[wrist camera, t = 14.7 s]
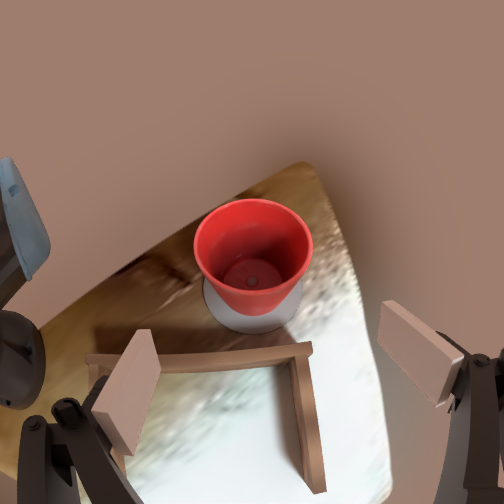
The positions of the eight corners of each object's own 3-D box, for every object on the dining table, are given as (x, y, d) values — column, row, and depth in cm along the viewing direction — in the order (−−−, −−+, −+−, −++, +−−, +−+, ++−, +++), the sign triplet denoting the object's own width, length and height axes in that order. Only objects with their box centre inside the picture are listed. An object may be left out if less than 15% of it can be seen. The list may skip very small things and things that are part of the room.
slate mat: (187, 309, 32) (185, 308, 31) (230, 234, 38) (230, 232, 37) (280, 350, 29) (281, 349, 29) (313, 264, 35) (314, 262, 35)
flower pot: (235, 236, 37) (230, 184, 29) (311, 269, 34) (328, 221, 26) (191, 301, 32) (170, 260, 24) (274, 344, 29) (283, 316, 21)
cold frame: (320, 478, 21) (332, 489, 17) (114, 480, 20) (93, 488, 15) (302, 351, 29) (311, 340, 25) (106, 362, 28) (85, 353, 24)
